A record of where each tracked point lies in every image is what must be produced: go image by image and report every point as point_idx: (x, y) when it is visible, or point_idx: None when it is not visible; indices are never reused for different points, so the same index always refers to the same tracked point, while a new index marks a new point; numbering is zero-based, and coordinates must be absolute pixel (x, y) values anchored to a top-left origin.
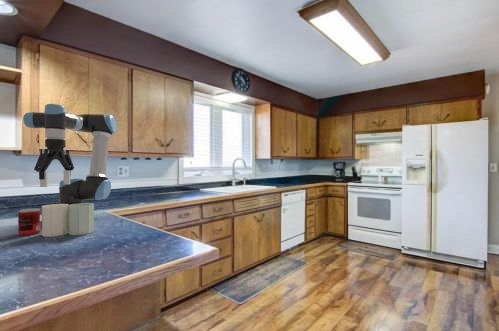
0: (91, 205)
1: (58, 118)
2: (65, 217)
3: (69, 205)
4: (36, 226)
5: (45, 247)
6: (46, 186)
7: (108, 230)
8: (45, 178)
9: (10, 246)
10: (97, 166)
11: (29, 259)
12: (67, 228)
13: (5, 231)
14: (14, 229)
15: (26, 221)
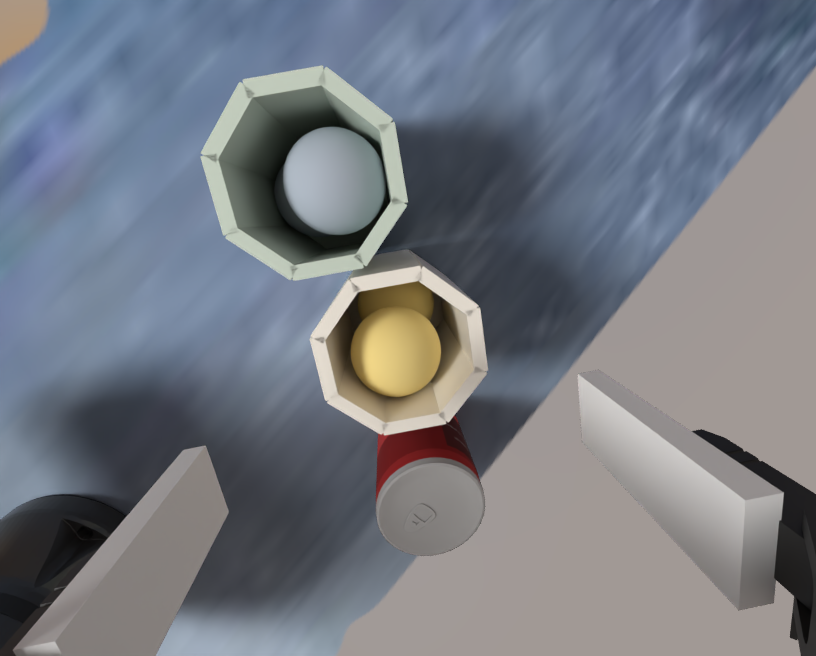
0: (282, 74)
1: None
2: (387, 261)
3: (375, 242)
4: None
5: (599, 130)
6: (594, 374)
7: (246, 64)
8: (677, 426)
9: (600, 304)
10: None
11: (753, 31)
12: (372, 257)
13: (409, 560)
14: (372, 562)
15: (464, 443)
